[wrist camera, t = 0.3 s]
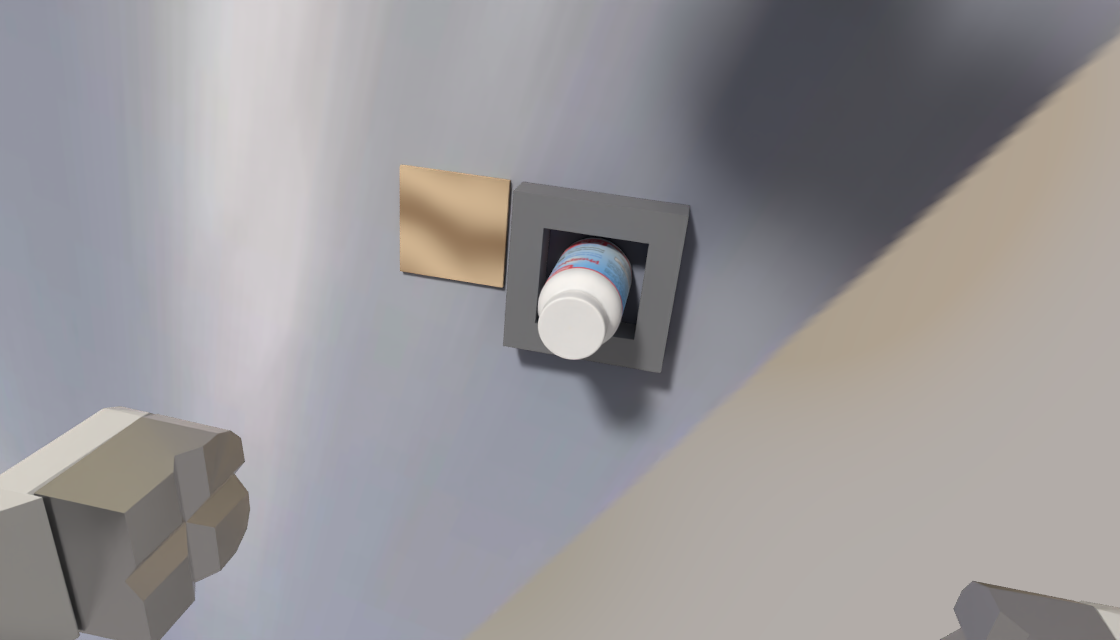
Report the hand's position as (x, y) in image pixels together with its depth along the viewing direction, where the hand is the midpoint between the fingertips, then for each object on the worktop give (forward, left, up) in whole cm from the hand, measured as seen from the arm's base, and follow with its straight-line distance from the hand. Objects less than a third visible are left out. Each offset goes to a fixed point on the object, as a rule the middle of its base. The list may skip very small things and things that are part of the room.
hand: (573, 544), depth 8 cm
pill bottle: (+14, -5, -47) cm, 49 cm away
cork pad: (+12, -17, -46) cm, 51 cm away
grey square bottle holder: (+14, -5, -46) cm, 49 cm away
